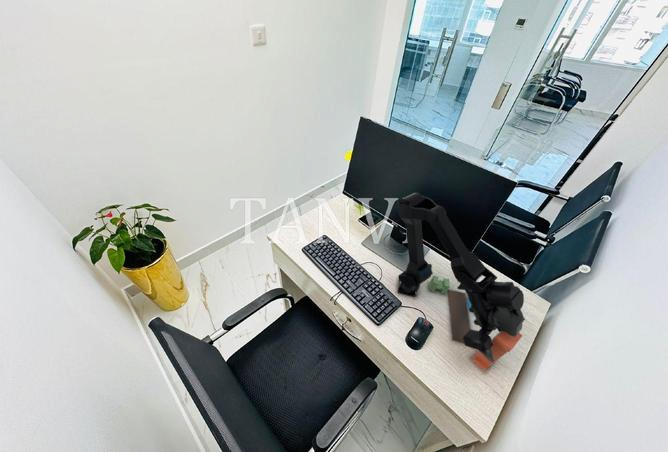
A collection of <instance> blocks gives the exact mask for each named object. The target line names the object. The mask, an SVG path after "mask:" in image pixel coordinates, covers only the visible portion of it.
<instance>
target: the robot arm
mask: <svg viewBox="0 0 668 452" xmlns="http://www.w3.org/2000/svg"><path fill="white" fill-rule="evenodd" d="M396 208H397V212H398V216H399V218H400V219H401V220H402V222H403V223H404V224H405V225H404V226H405V233H406V242H407V250H408V260H409V261H408V263H407V266H406V269H405V270H404V271H402V272H401V273H400V274H398V282H397V293H398V294H400V295H404V296H408V297H411V298H412V297H413V298H416V294H417V293H418V291H419V289H420V287H421V285H422V284H424V282H426V281H428V280H429V279H430V278H432V277H431V276H432V275H433V270H432V268H433V265H432V264H431V263H429V262H427V260H426V259H425V249H424V238H423V225H422V221H425V222H426V223H429V224H430V226H431V227H432V229H433V231H434V232H435V234H436V235H437V238H438V239H439V242H440V243H441V245H442V246H443V249H445V251H446V252H447V253H446V254H447V255H448V257H449V259H450V269H451V271H452V273H453V276H454V279H456V281H457V282H458V283H459V285H458V286H457V290H461V291H465V292H464V293H465V295H466V298H467V300H468V299H469V302H470V304H471V307H468V312H469V313H472V314H473V315H474V317H475V320H474V321H473V323H474V325H475V326H479V328H480V329H479V330H476V329H472V328H470V330H469V332H468V333H467V334H466V335H465V336H464V337H463V338H462V339H463V341H464V343H463V344H464V346H465V347H468V348H471V349H475V350H476V351H478V352H479V351H480V352H481V353H482V354H483V355H484V356H485V357H486V358H487V359H488V360H489V361H491V362H494V357H493V354H492V351H491V347H492V346H493V343H492V340H491V339H492V338H491V336H490V335H491V333H492V332H493V331H496V330H497V331H498V333H499V332H500V331H501V330H502V331H504V332H506V333H508V334H509V335H511V336H517V334H518V333H520V332H521V331H522V330H523V323H524V321H525V320H526V318H525V317H524V313H523V311H522V310H521V309H522V308H523V306H524V303H525V296H524V292H523V290H521V289H520V287H519V286H517V285H515V284H514V282H513V281H496V280H497V279H498V276H497V275H495V273H493V271H491V270H490V269H489V268H488V267H486V266H485V265H484V264H483V262H482V260H480V258H479V257H478V256H477V255H476V254H475V253H473V252H471V251H470V250H469V249H468V248H467V247H466V245H465V243H464V242H463V240H462V239H461V236H460V235H459V234H458V231H457V230H456V228H455V227H454V224H452V222H451V220H450V218H449V217H448V215H447V211H446V209H445V207H444V206H442V205H440V204H437V203H436V202H435V201H434V200H433V199H432V198H430V197H427V196H424V195H423V194H421V193H420V192H413V193H410V194H409V195H407V196H405V197H403V198H400V199H399V200H398V201H397V204H396ZM482 277H484V278H482ZM480 278H482V279H481V280H479V279H480ZM494 363H495V362H494Z"/></svg>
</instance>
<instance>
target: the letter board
mask: <svg viewBox="0 0 668 452" xmlns="http://www.w3.org/2000/svg"><path fill="white" fill-rule="evenodd" d="M447 295H448V306H449V317H450V328H451V329H450V330H451V340H452V341H455V342H459V343H463V344H464V341H463V339H462V338H463V337H464V336H465V335H466V334H467V333H468V332H469V330H470V329H471V325H470V319H469V318H470V317H469V310H468V303H467V296H466V292H461V291H457V290H452V289H448V291H447Z"/></svg>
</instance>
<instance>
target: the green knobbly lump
mask: <svg viewBox="0 0 668 452" xmlns="http://www.w3.org/2000/svg"><path fill="white" fill-rule="evenodd" d="M450 288H451V283H450V278H446V277H445V278H443V280H440V279H439V276H436V275H433V276H432V277H431V279H430V282H429V291H430V292H433V293H434V292H436V290H439V292H440V294H443V295H446V294H447V293H448V290H450Z"/></svg>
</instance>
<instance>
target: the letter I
mask: <svg viewBox="0 0 668 452" xmlns="http://www.w3.org/2000/svg"><path fill="white" fill-rule="evenodd" d="M522 337H523V334H522V333H520V332H519V333H518V334H517V336H511V335H509V334H508V333H506V332H504V331H502V330H501V331H500V332H499V331H498V332H497V334H496V335H495V336H493V337H492V338H491V340H492V343H493V346H492V347H491V351H492V354H493V357H494V362H491V361H489V360H488V359H487V358H486V357H485V356H484V355H483V354H482V353H481V352H480V351H479V350H478V352H477V353H476V354H475V355H474V356H473V357H472V359H471V361H472V362H473V363H475V365H477V366H478V367H479V368H480V369H481V370H482V371H483V372H485V371H486V370H487V369H488V367H490V366H491V365H493V364H494V363H495V362H497V360H500V359H501V358H502V357H503V356H504V355H506V354H507V353H509V352H511V351H512V350H513V349H514V347H516V345H517V344H518V342H519V341H520V340H521V338H522Z"/></svg>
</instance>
